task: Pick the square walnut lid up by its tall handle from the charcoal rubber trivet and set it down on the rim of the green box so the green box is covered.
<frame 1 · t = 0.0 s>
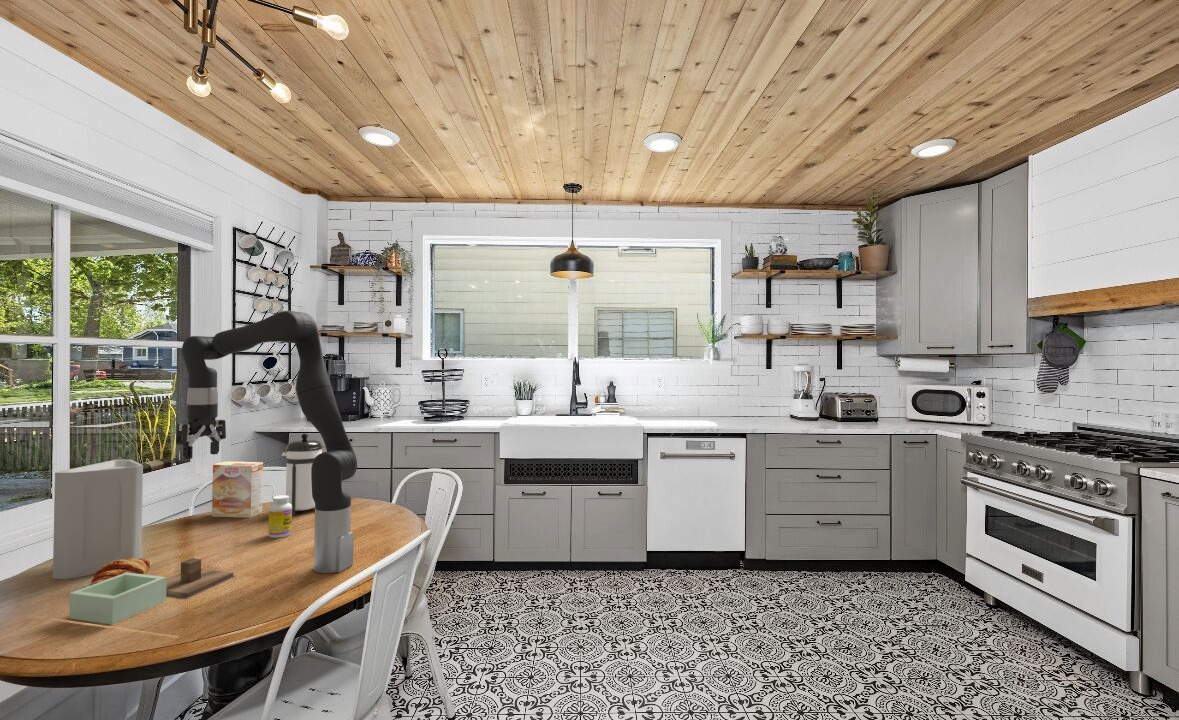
hand: (201, 456, 160), 29 cm above the table, fingers open, 8 cm apart
lid: (190, 583, 137), resting on trivet
supplement bottle: (280, 535, 177), on the table
green box: (119, 610, 123), on the table
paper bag: (111, 565, 150), on the table
trivet: (190, 585, 137), on the table
coffeecake box: (237, 515, 199), on the table
coffee press: (306, 510, 207), on the table
croissant: (122, 585, 138), on the table
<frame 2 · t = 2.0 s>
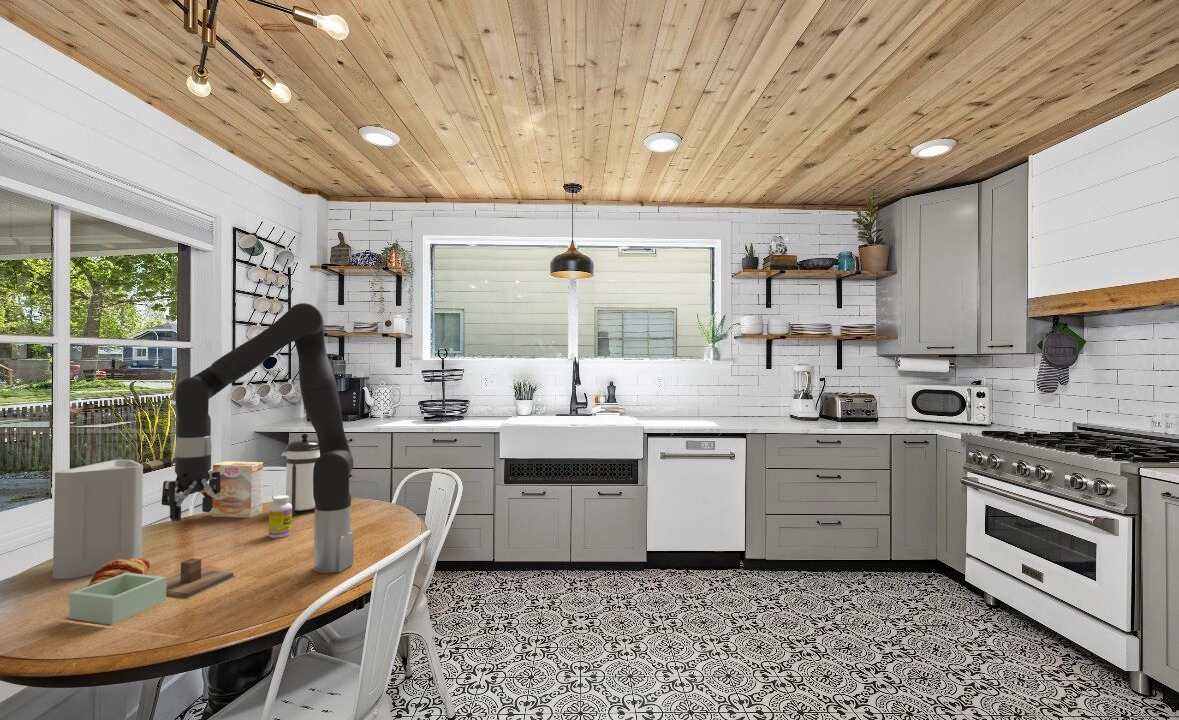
hand: (191, 516, 137), 18 cm above the table, fingers open, 8 cm apart
nothing on the table moved.
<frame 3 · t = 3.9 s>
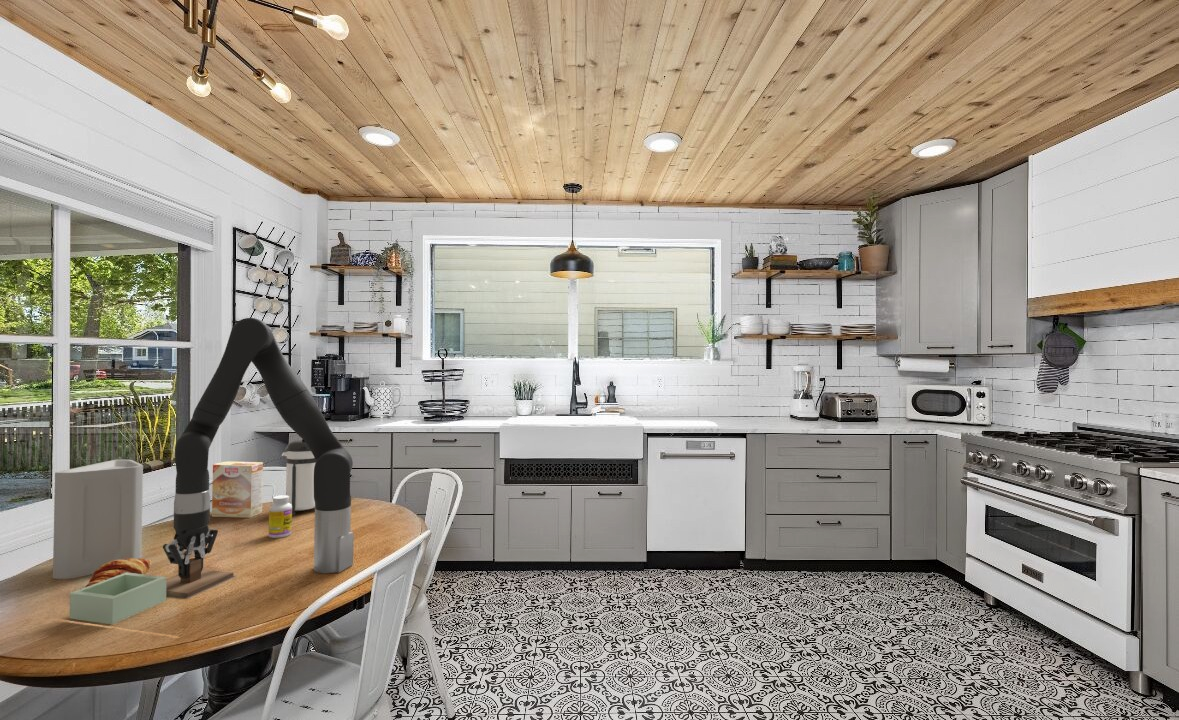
hand: (191, 574, 137), 3 cm above the table, fingers closed on lid, 3 cm apart
lid: (190, 583, 137), resting on trivet, touching gripper
everything else where it was.
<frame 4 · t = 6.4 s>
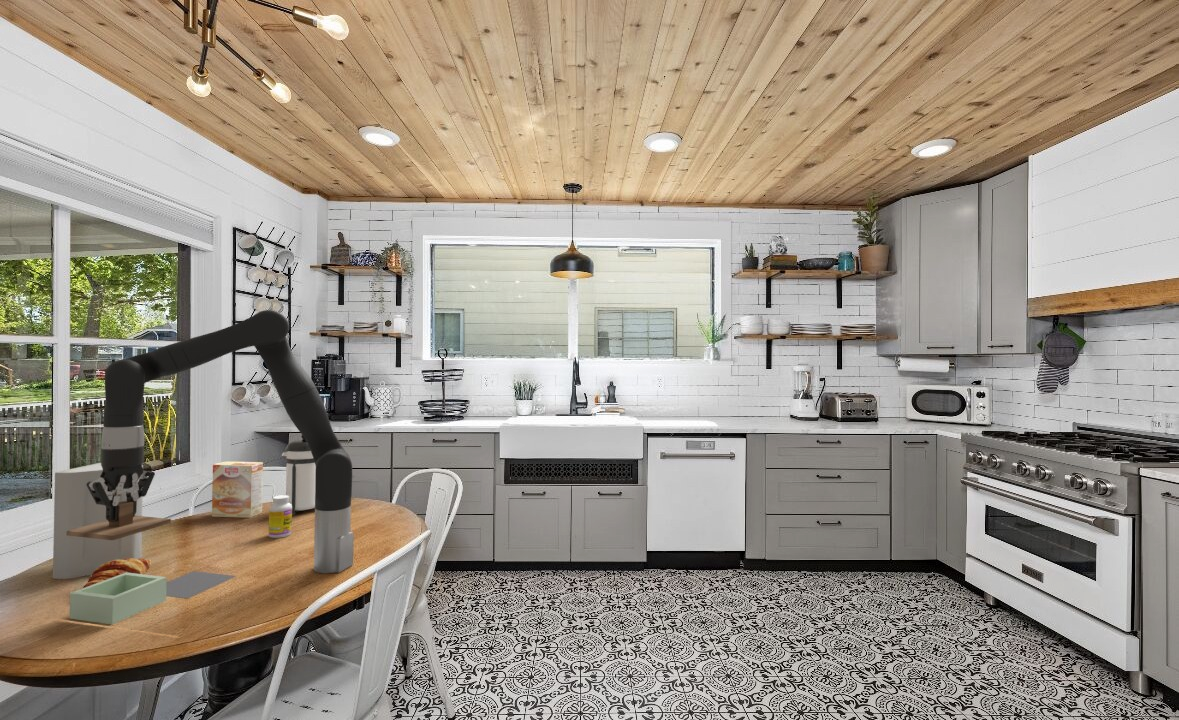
hand: (121, 518, 123), 21 cm above the table, fingers closed on lid, 3 cm apart
lid: (120, 529, 123), point 19 cm above the table, touching gripper
everything else where it was.
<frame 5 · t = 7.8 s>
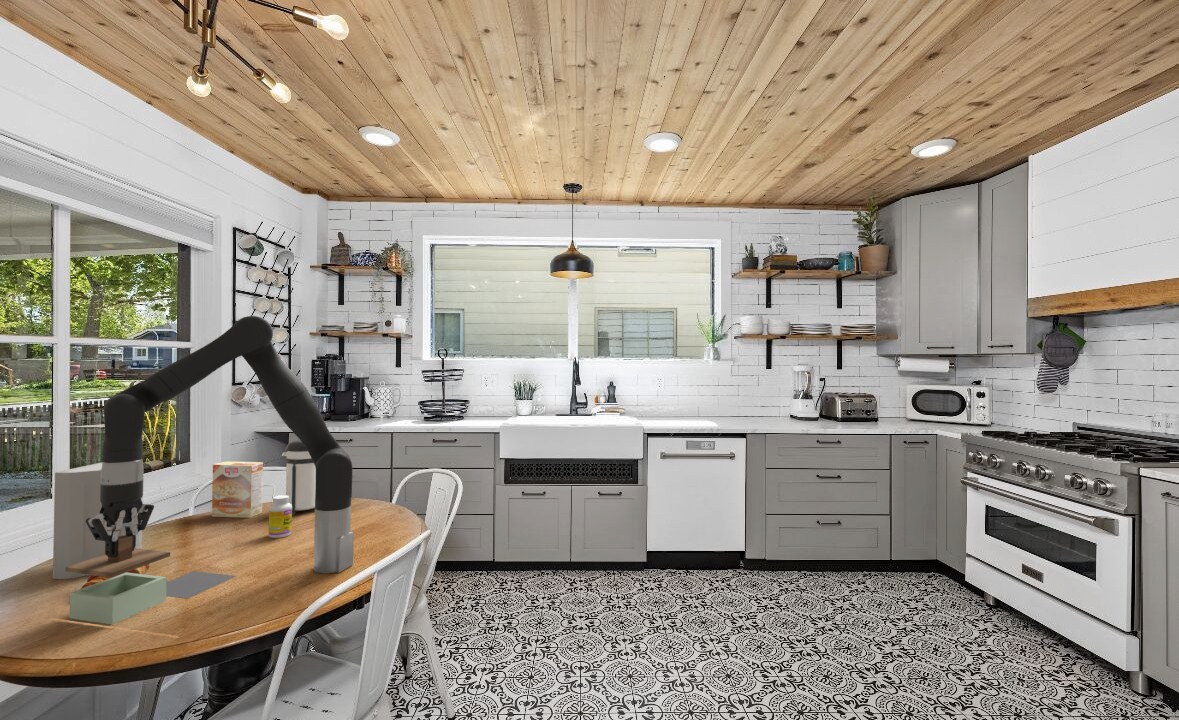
hand: (120, 553, 123), 13 cm above the table, fingers closed on lid, 3 cm apart
lid: (120, 563, 123), point 11 cm above the table, touching gripper
everything else where it was.
when the fingers open (9 cm above the table, at t = 8.9 s): lid stays where it is, resting on green box.
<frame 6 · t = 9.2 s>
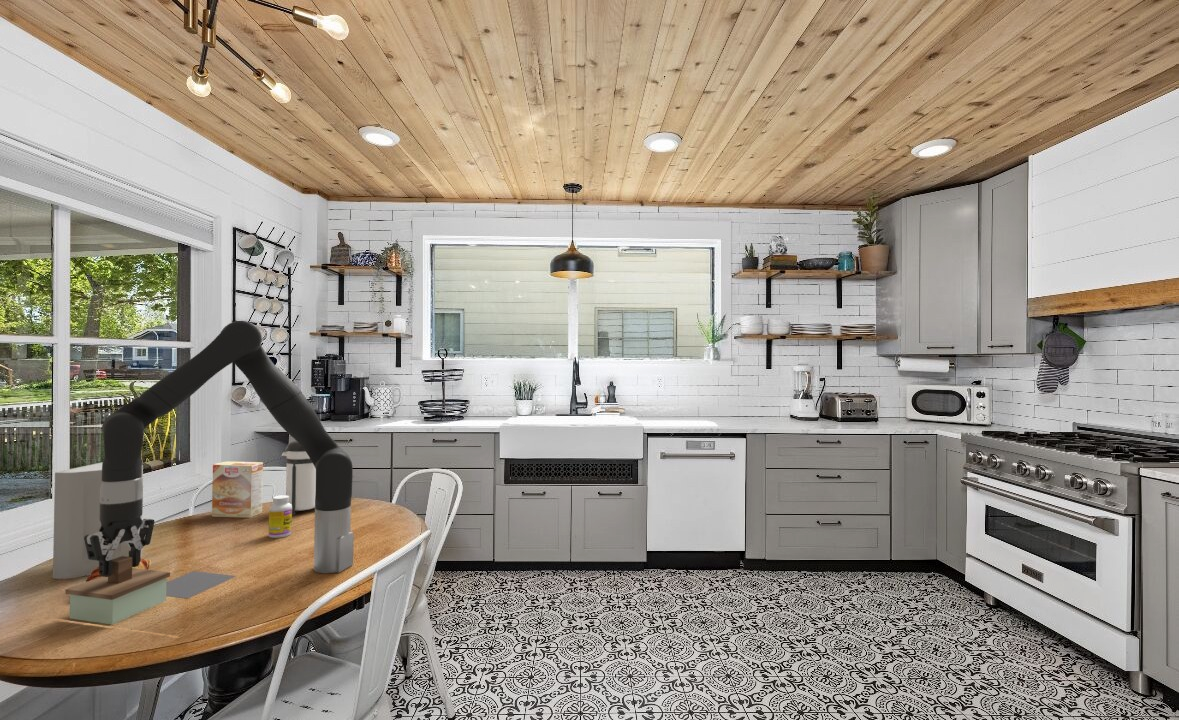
hand: (120, 570, 123), 9 cm above the table, fingers open, 5 cm apart
lid: (119, 584, 123), point 6 cm above the table, touching green box
everything else where it was.
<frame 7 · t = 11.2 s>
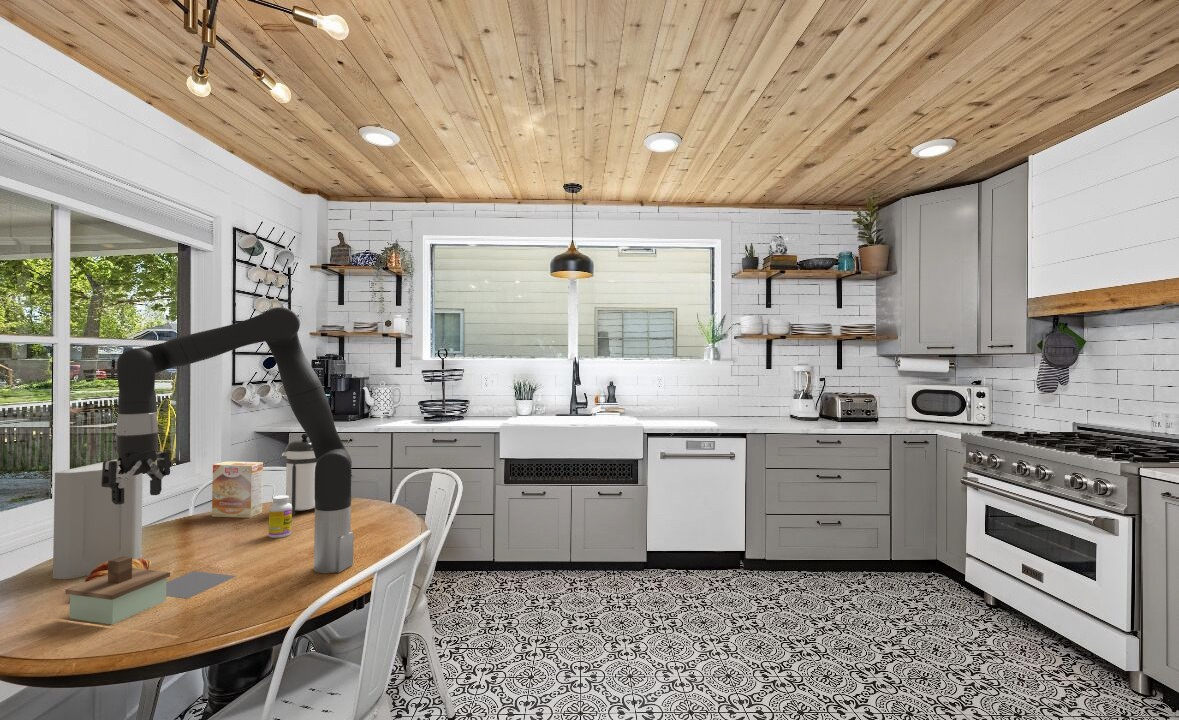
hand: (137, 499, 127), 25 cm above the table, fingers open, 8 cm apart
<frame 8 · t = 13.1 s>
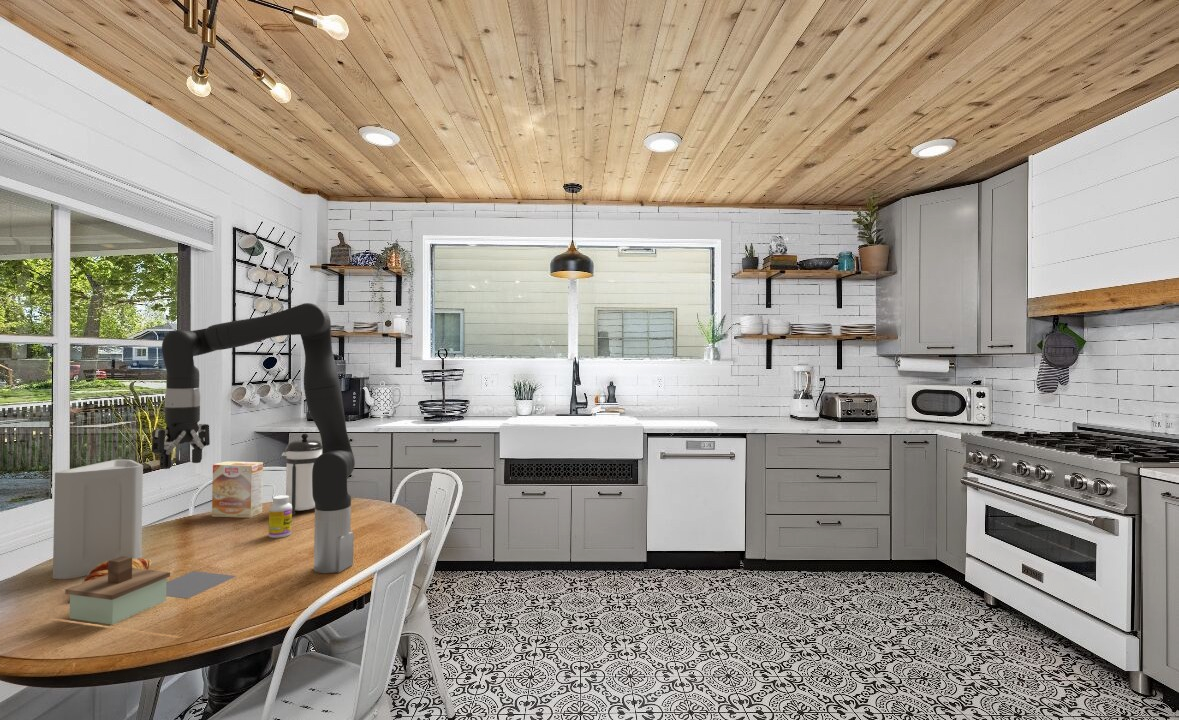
hand: (181, 465, 142), 30 cm above the table, fingers open, 8 cm apart
at the end: lid 0.1 cm off-centre on the green box, point 6.0 cm above the green box's base; lid tilted 0°; the gripper is holding nothing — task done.
